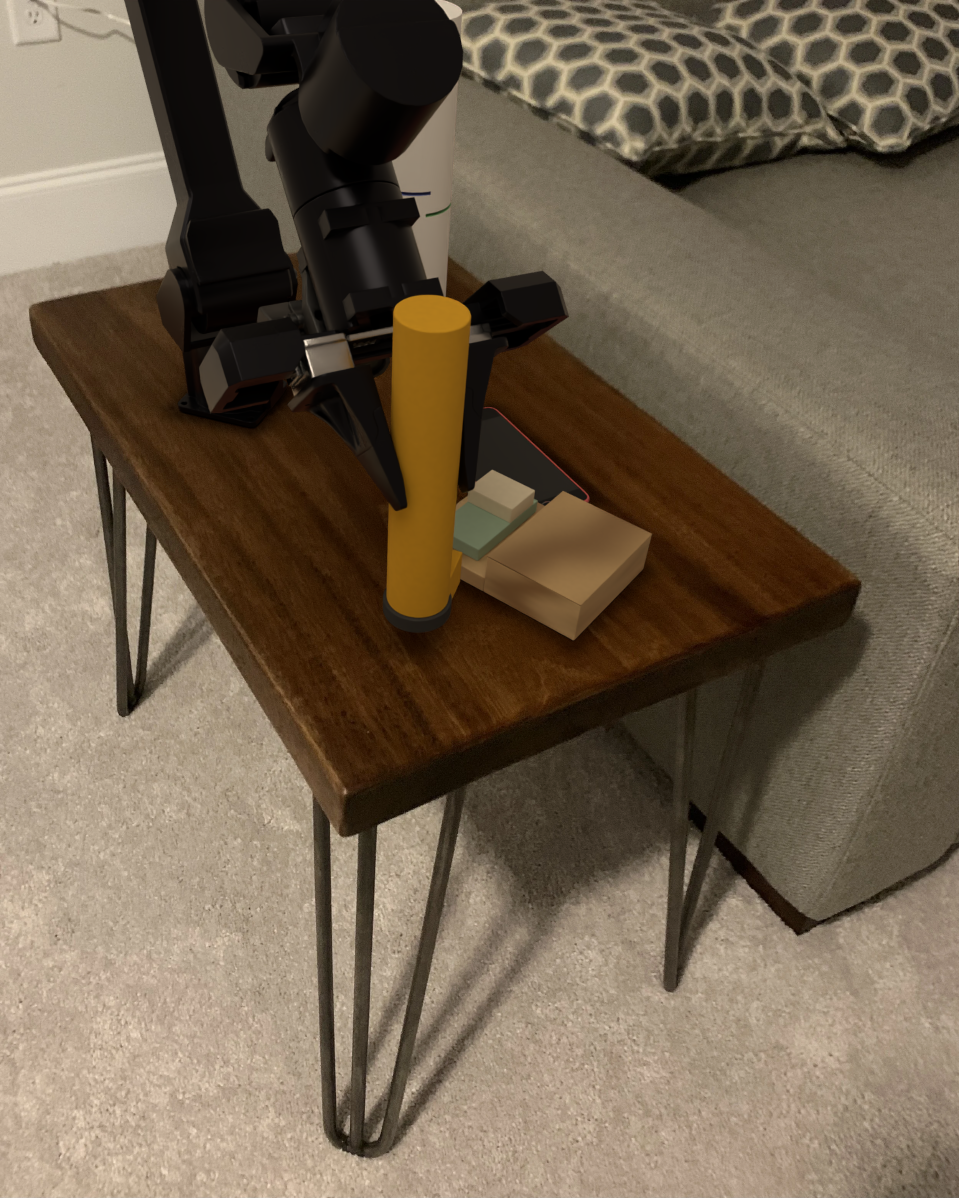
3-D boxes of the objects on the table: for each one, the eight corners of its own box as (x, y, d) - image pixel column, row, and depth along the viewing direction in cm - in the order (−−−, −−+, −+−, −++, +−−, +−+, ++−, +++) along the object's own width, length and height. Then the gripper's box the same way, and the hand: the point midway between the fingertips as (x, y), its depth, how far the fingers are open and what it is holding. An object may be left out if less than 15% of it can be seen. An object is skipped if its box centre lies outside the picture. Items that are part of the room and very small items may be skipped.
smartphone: (515, 526, 72) (417, 424, 81) (514, 532, 73) (416, 430, 81) (595, 499, 75) (493, 403, 84) (594, 505, 76) (492, 409, 84)
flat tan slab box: (410, 552, 70) (412, 516, 68) (488, 491, 75) (491, 456, 73) (573, 641, 65) (581, 605, 63) (643, 569, 70) (652, 533, 68)
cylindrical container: (356, 302, 95) (355, -6, 78) (432, 296, 97) (447, -6, 80) (374, 341, 90) (377, 21, 73) (453, 334, 92) (474, 21, 75)
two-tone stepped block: (477, 561, 68) (480, 535, 66) (434, 538, 69) (435, 512, 68) (536, 511, 72) (540, 486, 71) (494, 490, 73) (497, 465, 72)
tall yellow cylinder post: (439, 640, 59) (461, 341, 46) (373, 623, 60) (376, 323, 47) (464, 583, 63) (492, 291, 50) (402, 567, 63) (413, 275, 50)
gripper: (449, 242, 64) (521, 484, 65) (148, 291, 57) (233, 564, 57) (529, 159, 54) (613, 448, 55) (175, 205, 46) (278, 539, 47)
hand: (435, 500), depth 54 cm, fingers closed on tall yellow cylinder post, 3 cm apart
